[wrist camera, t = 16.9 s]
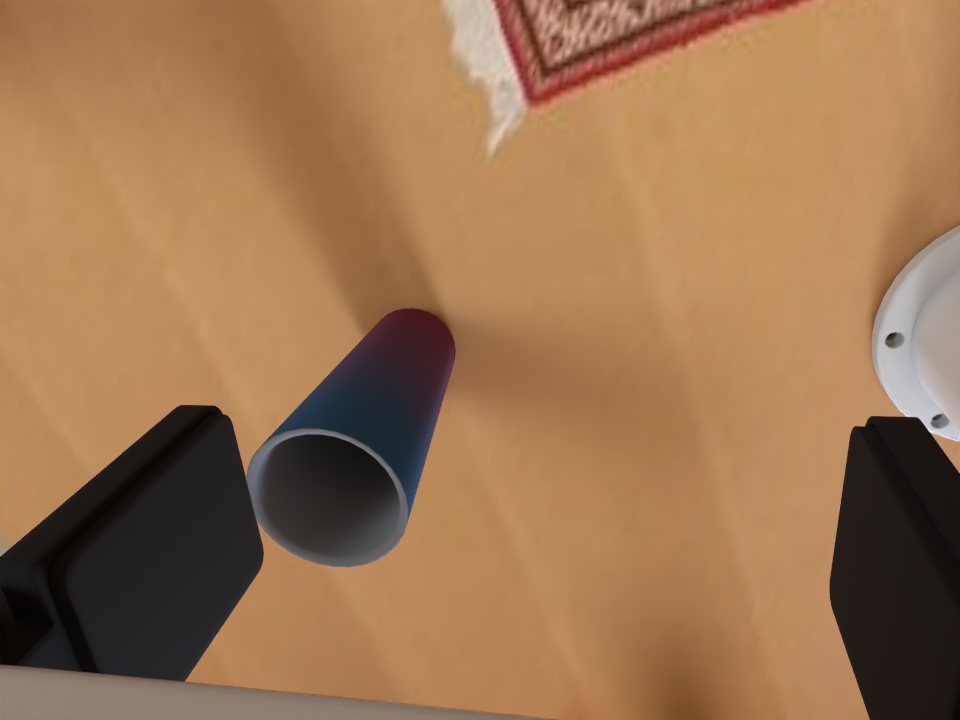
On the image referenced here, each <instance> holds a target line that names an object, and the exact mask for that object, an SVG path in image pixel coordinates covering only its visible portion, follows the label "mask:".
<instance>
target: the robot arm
mask: <svg viewBox="0 0 960 720" xmlns="http://www.w3.org/2000/svg"><path fill="white" fill-rule="evenodd" d="M891 333H893V335H892V336H890V337H887V336H888V335H889V334H891ZM872 360H873V363H874V366H875V370H876V373H877V377H878V379H879V381H880V383H881V385H882V386H883V388H884V390H885V391H886V393H887V395H888V396H889V398H890V399H891V400H892V401H893V403H894V404H895V405H896V406H897V408H898V409H899V410H900V411H901V412H902V413H903V414H904V415H906V416H907V417H884V416H871V417H870V418H869V419H868V420H867V423H866V426H865V427H859V426H855V427H854V428H853V429H852V432H851V436H850V442H849V449H848V456H847V463H846V470H845V477H844V484H843V491H842V498H841V505H840V512H839V519H838V527H837V534H836V541H835V548H834V555H833V562H832V569H831V576H830V600H831V606H832V609H833V613H834V615H835V618H836V621H837V624H838V627H839V630H840V633H841V636H842V639H843V642H844V645H845V648H846V651H847V654H848V657H849V660H850V662H851V665H852V668H853V671H854V674H855V677H856V680H857V683H858V686H859V689H860V692H861V695H862V698H863V701H864V704H865V707H866V709H867V712H868V715H869V718H870V720H960V474H959V472H958V471H957V469H956V468H955V467H954V465H953V464H952V462H951V461H950V460H949V458H948V457H947V456H946V454H945V453H944V451H943V450H942V449H941V447H940V446H939V444H938V443H937V442H936V440H935V439H934V438H933V436H932V435H931V433H933V434H936V435H939V436H942V437H945V438H948V439H952V440H955V441H960V225H959V226H957V227H955V228H953V229H952V230H950V231H948V232H947V233H945V234H943V235H941V236H940V237H938V238H936V239H935V240H934V241H933V242H931V243H930V244H929V245H928V246H926V247H925V248H924V249H923V250H921V251H920V252H919V253H918V254H916V255H915V256H914V257H913V258H912V260H911V261H910V262H909V263H908V264H907V265H906V266H905V267H904V268H903V269H902V271H901V272H900V273H899V274H898V275H897V276H896V278H895V280H894V281H893V283H892V284H891V286H890V287H889V289H888V291H887V292H886V294H885V295H884V297H883V300H882V302H881V305H880V307H879V310H878V312H877V315H876V317H875V322H874V328H873V334H872ZM930 432H931V433H930ZM263 555H264V551H263V545H262V541H261V537H260V533H259V529H258V525H257V521H256V517H255V513H254V509H253V505H252V501H251V497H250V493H249V489H248V485H247V481H246V477H245V473H244V469H243V465H242V461H241V457H240V452H239V448H238V444H237V440H236V436H235V432H234V428H233V424H232V422H231V419H230V418H229V417H228V416H227V415H223V414H222V412H221V410H220V409H219V408H218V407H216V406H205V405H180V406H178V407H176V408H175V409H174V410H173V411H171V412H170V413H169V414H168V415H167V416H166V417H164V418H163V419H162V420H161V421H160V422H159V423H157V424H156V425H155V426H154V427H153V428H151V429H150V430H149V431H148V432H147V433H146V434H144V435H143V436H142V437H141V438H140V439H139V440H137V441H136V442H135V443H134V444H133V445H131V446H130V447H129V448H128V449H127V450H126V451H124V452H123V453H122V454H121V455H120V456H119V457H117V458H116V459H115V460H114V461H113V462H111V463H110V464H109V465H108V466H107V467H106V468H104V469H103V470H102V471H101V472H100V473H99V474H97V475H96V476H95V477H94V478H93V479H91V480H90V481H89V482H88V483H87V484H86V485H84V486H83V487H82V488H81V489H80V490H78V491H77V492H76V493H75V494H74V495H73V496H71V497H70V498H69V499H68V500H67V501H66V502H64V503H63V504H62V505H61V506H60V507H58V508H57V509H56V510H55V511H54V512H53V513H51V514H50V515H49V516H48V517H47V518H46V519H44V520H43V521H42V522H41V523H40V524H38V525H37V526H36V527H35V528H34V529H33V530H31V531H30V532H29V533H28V534H27V535H26V536H24V537H23V538H22V539H21V540H20V541H18V542H17V543H16V544H15V545H14V546H13V547H11V548H10V549H9V550H8V551H7V552H6V553H4V554H3V555H2V556H1V557H0V720H560V719H551V718H542V717H532V716H523V715H513V714H504V713H495V712H485V711H475V710H465V709H455V708H445V707H436V706H426V705H416V704H406V703H396V702H386V701H377V700H366V699H356V698H346V697H336V696H326V695H316V694H306V693H296V692H286V691H276V690H266V689H255V688H245V687H234V686H224V685H213V684H203V683H192V682H185V680H186V679H187V677H188V676H189V674H190V673H191V671H192V670H193V668H194V667H195V666H196V664H197V663H198V661H199V660H200V658H201V657H202V655H203V654H204V652H205V651H206V649H207V648H208V646H209V645H210V643H211V642H212V640H213V639H214V637H215V636H216V634H217V633H218V632H219V630H220V629H221V627H222V626H223V624H224V623H225V621H226V620H227V618H228V617H229V615H230V614H231V612H232V611H233V609H234V608H235V606H236V605H237V603H238V602H239V600H240V599H241V598H242V596H243V595H244V593H245V592H246V590H247V589H248V587H249V586H250V584H251V583H252V581H253V580H254V578H255V577H256V575H257V574H258V572H259V570H260V569H261V566H262V563H263Z"/></svg>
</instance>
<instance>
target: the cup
mask: <svg viewBox="0 0 960 720" xmlns="http://www.w3.org/2000/svg"><path fill="white" fill-rule="evenodd" d="M455 352H456V351H455V343H454V340H453V337H452V335H451V333H450V332H449V330H448V328H447V327H446V326H445V325H444V324H443V322H441V321H440V320H439V319H438V318H437V317H435V316H433V315H431V314H430V313H428V312H425V311H422V310H418V309H401V310H396V311H394V312H392V313H389V314H388V315H386V316H385V317H384V318H382V319H381V320H380V321H379V323H378V324H377V325H376V326H375V327H374V328H373V329H372V330H371V331H370V332H369V333H368V334H367V335H366V336H365V337H364V338H363V339H362V340H361V341H360V342H359V344H358V345H357V346H356V347H355V348H354V349H353V350H352V351H351V352H350V353H349V354H348V355H347V356H346V357H345V358H344V359H343V360H342V361H341V362H340V363H339V365H338V366H337V367H336V368H335V369H334V370H333V371H332V372H331V373H330V374H329V375H328V376H327V377H326V378H325V379H324V380H323V381H322V382H321V383H320V384H319V385H318V387H317V388H316V389H315V390H314V391H313V392H312V393H311V394H310V395H309V396H308V397H307V398H306V399H305V400H304V401H303V402H302V403H301V404H300V405H299V406H298V408H297V409H296V410H295V411H294V412H293V413H292V414H291V415H290V416H289V417H288V418H287V419H286V420H285V421H284V422H283V423H282V424H281V425H280V426H279V427H278V429H277V430H276V431H275V432H274V433H273V434H272V435H271V436H270V437H269V438H268V439H267V440H266V441H265V442H264V443H263V444H262V445H261V447H260V448H259V449H258V450H257V451H256V453H255V454H254V455H253V457H252V459H251V462H250V464H249V466H248V470H247V476H246V481H247V485H248V489H249V493H250V497H251V501H252V505H253V509H254V513H255V517H256V520H257V521H258V522H259V524H260V525H261V526H262V528H263V529H264V530H265V532H266V533H267V534H268V535H269V536H270V537H271V538H272V539H273V540H274V541H275V542H276V543H278V544H279V545H281V546H282V547H283V548H285V549H286V550H288V551H289V552H291V553H293V554H295V555H296V556H298V557H300V558H302V559H305V560H308V561H310V562H313V563H316V564H320V565H325V566H331V567H355V566H362V565H365V564H368V563H371V562H374V561H376V560H378V559H380V558H381V557H383V556H385V555H387V554H388V553H389V552H390V551H391V550H392V549H393V548H394V547H395V546H396V545H397V544H398V542H399V541H400V539H401V538H402V536H403V534H404V531H405V528H406V525H407V522H408V519H409V515H410V512H411V508H412V505H413V502H414V498H415V495H416V491H417V488H418V484H419V481H420V477H421V474H422V470H423V467H424V464H425V460H426V457H427V453H428V450H429V446H430V443H431V439H432V436H433V433H434V429H435V426H436V422H437V419H438V415H439V412H440V408H441V405H442V401H443V398H444V395H445V391H446V388H447V384H448V381H449V377H450V374H451V370H452V367H453V364H454V360H455Z"/></svg>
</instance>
